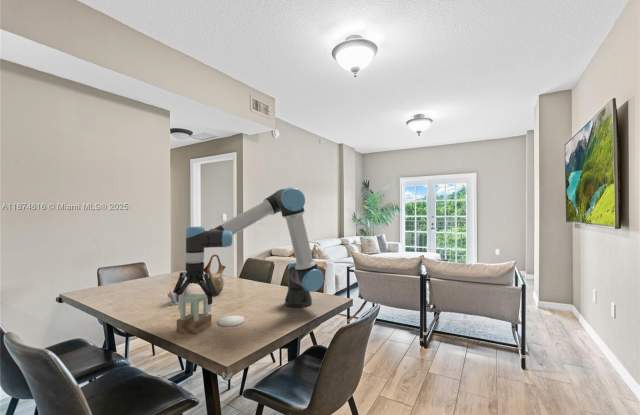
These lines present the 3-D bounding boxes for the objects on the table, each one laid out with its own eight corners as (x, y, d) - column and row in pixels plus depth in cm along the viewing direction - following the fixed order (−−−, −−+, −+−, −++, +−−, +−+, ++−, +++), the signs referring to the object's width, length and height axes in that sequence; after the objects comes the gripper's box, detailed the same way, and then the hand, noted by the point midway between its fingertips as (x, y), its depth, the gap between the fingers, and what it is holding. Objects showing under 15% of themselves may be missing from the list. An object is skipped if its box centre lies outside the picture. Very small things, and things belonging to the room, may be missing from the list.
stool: (208, 315, 137) (208, 294, 137) (196, 321, 129) (196, 299, 129) (192, 313, 139) (192, 293, 139) (180, 319, 131) (180, 298, 131)
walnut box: (211, 325, 137) (211, 314, 137) (197, 334, 128) (197, 322, 128) (192, 323, 140) (192, 312, 140) (176, 332, 130) (176, 320, 130)
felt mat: (249, 318, 147) (249, 316, 147) (236, 327, 135) (236, 325, 135) (227, 316, 150) (227, 314, 150) (212, 325, 138) (212, 323, 138)
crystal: (161, 305, 168) (162, 278, 168) (179, 299, 180) (179, 273, 180) (176, 307, 165) (176, 279, 165) (193, 300, 177) (193, 274, 178)
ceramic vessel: (208, 299, 180) (208, 256, 180) (198, 296, 185) (198, 255, 185) (229, 293, 194) (230, 253, 194) (220, 291, 199) (220, 252, 199)
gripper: (225, 261, 135) (224, 310, 134) (176, 259, 141) (176, 305, 141) (215, 264, 128) (214, 315, 127) (164, 261, 134) (164, 310, 133)
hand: (194, 310), depth 134 cm, fingers open, 13 cm apart
